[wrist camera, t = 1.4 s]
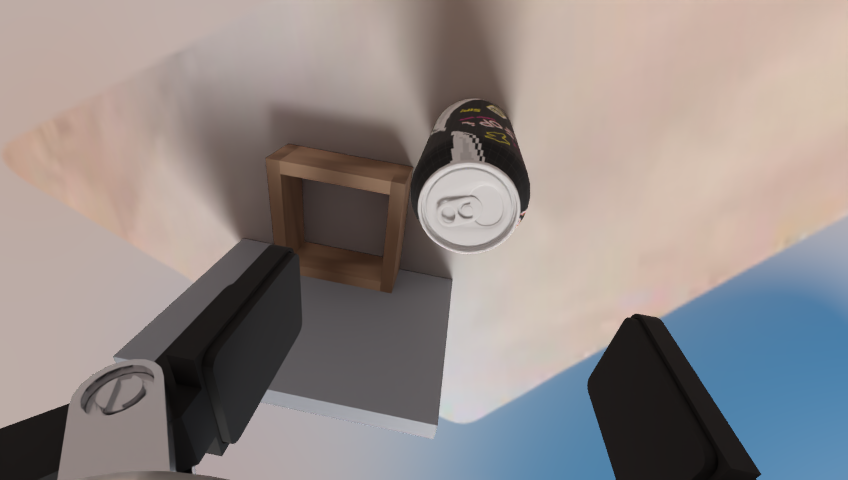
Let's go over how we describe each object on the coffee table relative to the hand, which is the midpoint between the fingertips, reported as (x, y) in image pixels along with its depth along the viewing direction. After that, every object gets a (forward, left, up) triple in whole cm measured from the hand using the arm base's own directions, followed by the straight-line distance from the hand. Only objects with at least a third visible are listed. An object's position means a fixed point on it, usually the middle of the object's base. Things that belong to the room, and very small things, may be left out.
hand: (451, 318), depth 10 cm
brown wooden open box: (+9, +8, -18) cm, 22 cm away
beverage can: (0, 0, -19) cm, 19 cm away
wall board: (+9, +13, -18) cm, 24 cm away
